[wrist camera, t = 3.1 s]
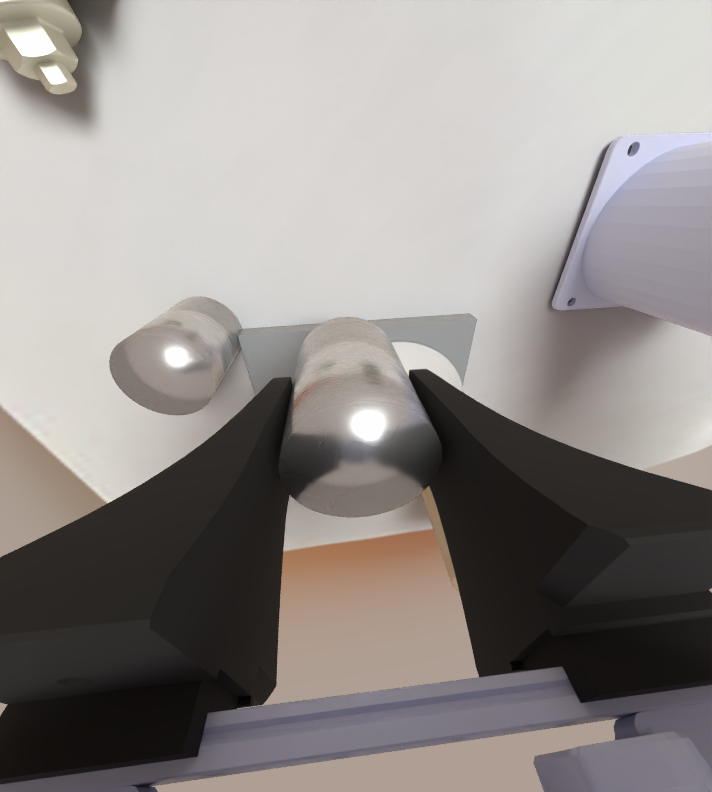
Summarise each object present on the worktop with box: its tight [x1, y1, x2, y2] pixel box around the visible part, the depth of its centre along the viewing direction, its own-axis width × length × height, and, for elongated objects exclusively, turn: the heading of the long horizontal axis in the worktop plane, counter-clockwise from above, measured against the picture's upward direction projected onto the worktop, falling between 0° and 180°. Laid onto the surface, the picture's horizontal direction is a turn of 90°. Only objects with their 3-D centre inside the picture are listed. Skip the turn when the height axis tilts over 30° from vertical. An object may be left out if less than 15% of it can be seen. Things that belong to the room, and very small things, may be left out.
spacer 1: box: [109, 297, 242, 415], centre depth 14 cm, size 4×4×6 cm
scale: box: [238, 314, 477, 395], centre depth 20 cm, size 14×12×1 cm
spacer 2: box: [278, 317, 442, 517], centre depth 9 cm, size 4×4×6 cm
